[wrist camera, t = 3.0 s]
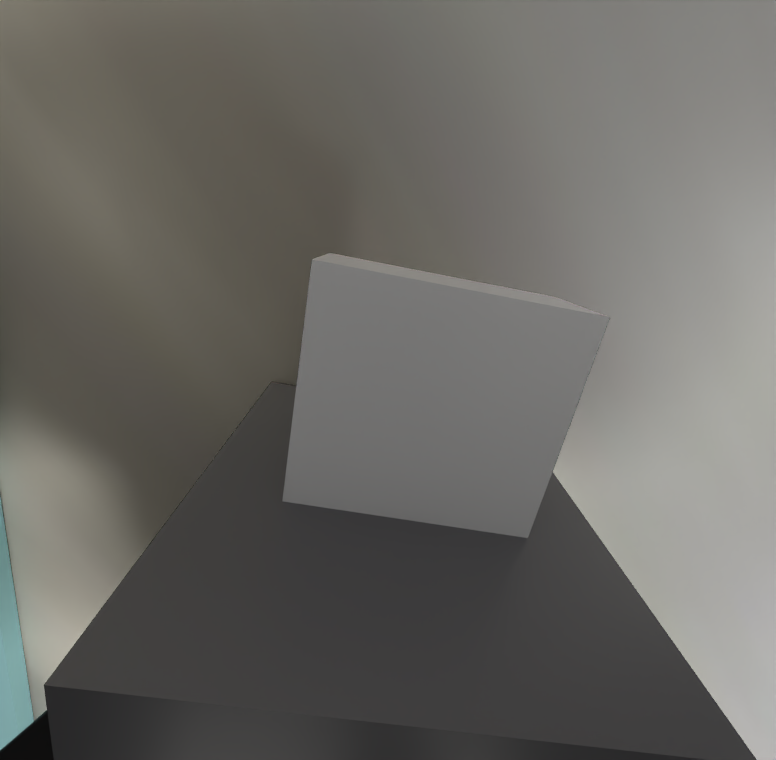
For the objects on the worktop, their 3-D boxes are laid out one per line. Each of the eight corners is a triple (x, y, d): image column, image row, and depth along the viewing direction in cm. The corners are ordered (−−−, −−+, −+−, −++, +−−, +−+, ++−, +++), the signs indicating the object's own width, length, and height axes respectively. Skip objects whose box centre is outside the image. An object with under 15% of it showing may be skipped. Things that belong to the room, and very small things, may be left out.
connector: (412, 748, 10) (436, 1178, 6) (236, 729, 10) (106, 1168, 5) (562, 289, 7) (1021, 435, 2) (286, 235, 6) (-15, 244, 2)
